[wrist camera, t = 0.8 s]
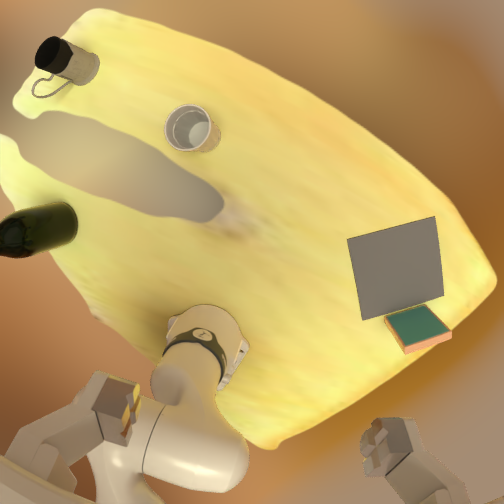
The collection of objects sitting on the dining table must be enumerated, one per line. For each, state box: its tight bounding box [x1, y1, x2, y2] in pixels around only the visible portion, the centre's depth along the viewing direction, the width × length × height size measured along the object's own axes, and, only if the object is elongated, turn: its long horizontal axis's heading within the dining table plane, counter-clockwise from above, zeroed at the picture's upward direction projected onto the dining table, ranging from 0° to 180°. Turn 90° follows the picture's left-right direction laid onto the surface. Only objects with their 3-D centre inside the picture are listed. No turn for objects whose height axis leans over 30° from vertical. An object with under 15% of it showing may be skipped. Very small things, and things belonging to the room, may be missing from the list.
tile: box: [384, 304, 452, 355], centre depth 56 cm, size 2×10×14 cm, turn 106°
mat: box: [347, 216, 444, 320], centre depth 61 cm, size 18×20×1 cm
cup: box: [164, 104, 221, 152], centre depth 54 cm, size 8×8×12 cm
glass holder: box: [32, 36, 100, 98], centre depth 52 cm, size 9×14×15 cm, turn 148°
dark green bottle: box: [0, 202, 77, 258], centre depth 51 cm, size 10×10×33 cm
